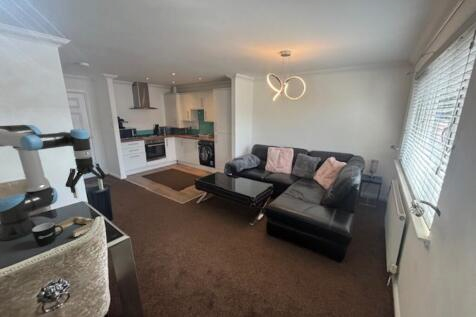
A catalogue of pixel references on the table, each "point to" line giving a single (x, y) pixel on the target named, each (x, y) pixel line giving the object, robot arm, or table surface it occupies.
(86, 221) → the bay
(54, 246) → the table surface
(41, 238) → the mug
